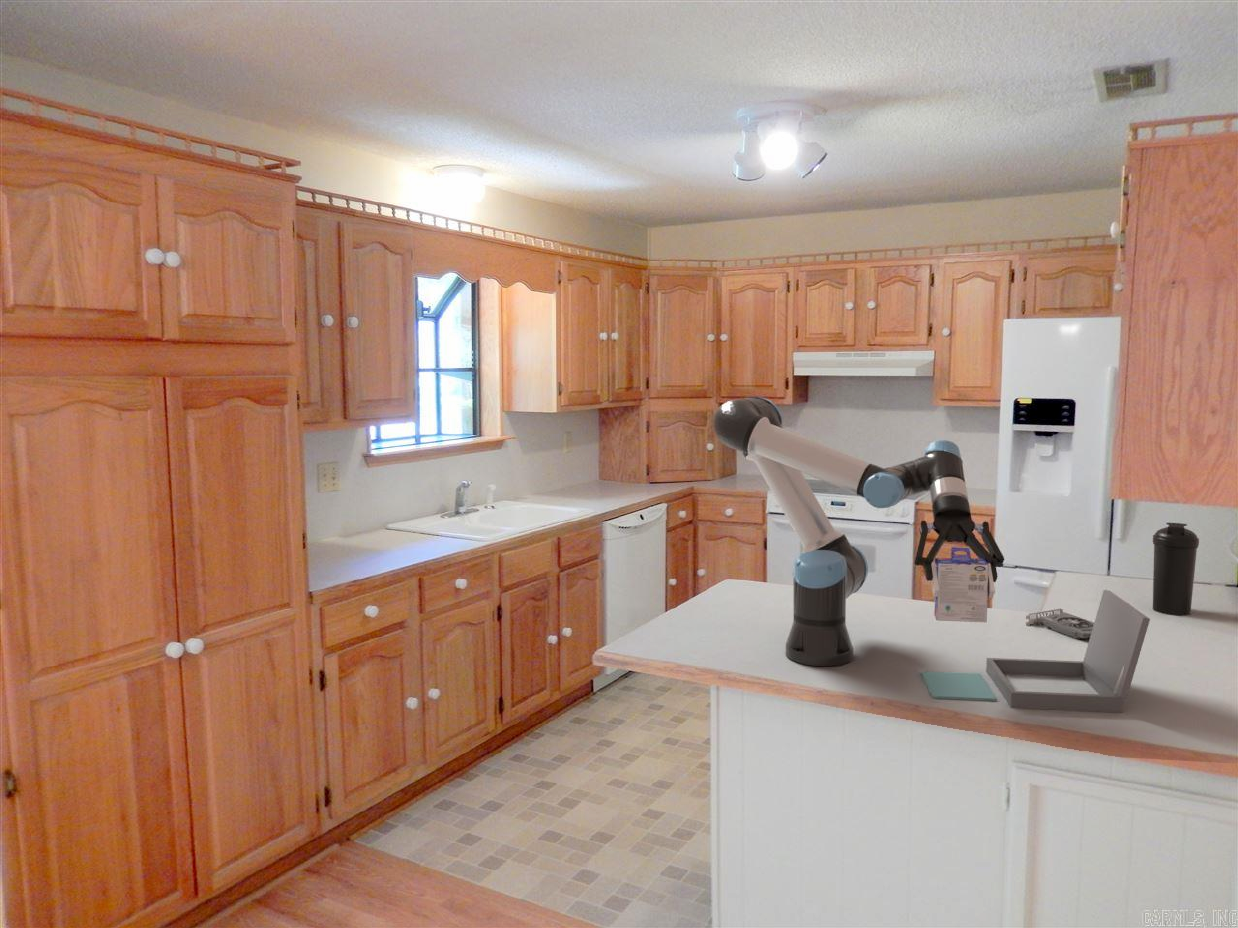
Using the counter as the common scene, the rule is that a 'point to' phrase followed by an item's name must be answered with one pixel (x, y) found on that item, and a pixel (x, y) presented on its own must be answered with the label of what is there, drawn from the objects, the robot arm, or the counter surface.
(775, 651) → the counter surface
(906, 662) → the counter surface
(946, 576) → the ink cartridge box
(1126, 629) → the equipment case
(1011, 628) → the counter surface
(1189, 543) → the water bottle
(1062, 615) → the graphics card
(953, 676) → the teal mat
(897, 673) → the counter surface
